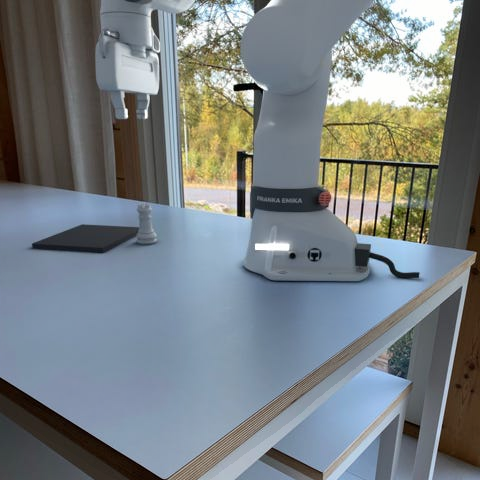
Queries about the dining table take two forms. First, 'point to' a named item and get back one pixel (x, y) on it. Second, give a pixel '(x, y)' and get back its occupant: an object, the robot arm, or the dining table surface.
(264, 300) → the dining table surface
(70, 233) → the mat
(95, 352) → the dining table surface
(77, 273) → the dining table surface
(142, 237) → the rook chess piece
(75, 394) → the dining table surface
